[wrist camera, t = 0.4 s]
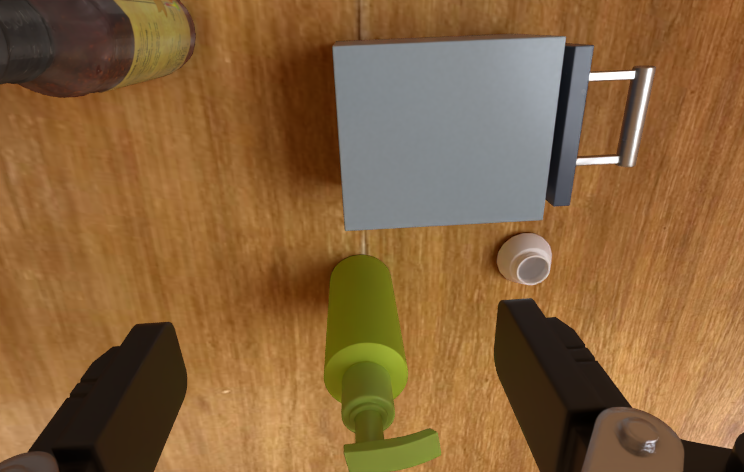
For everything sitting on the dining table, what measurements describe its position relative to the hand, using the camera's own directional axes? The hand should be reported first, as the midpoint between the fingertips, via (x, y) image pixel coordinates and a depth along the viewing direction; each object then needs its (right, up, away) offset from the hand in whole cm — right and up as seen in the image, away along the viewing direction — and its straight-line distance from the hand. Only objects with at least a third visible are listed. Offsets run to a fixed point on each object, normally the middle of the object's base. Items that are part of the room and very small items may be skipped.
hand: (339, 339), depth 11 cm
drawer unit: (+5, +12, +26) cm, 29 cm away
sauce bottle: (-15, +18, +23) cm, 33 cm away
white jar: (+15, +1, +32) cm, 36 cm away
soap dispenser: (0, -2, +32) cm, 33 cm away
